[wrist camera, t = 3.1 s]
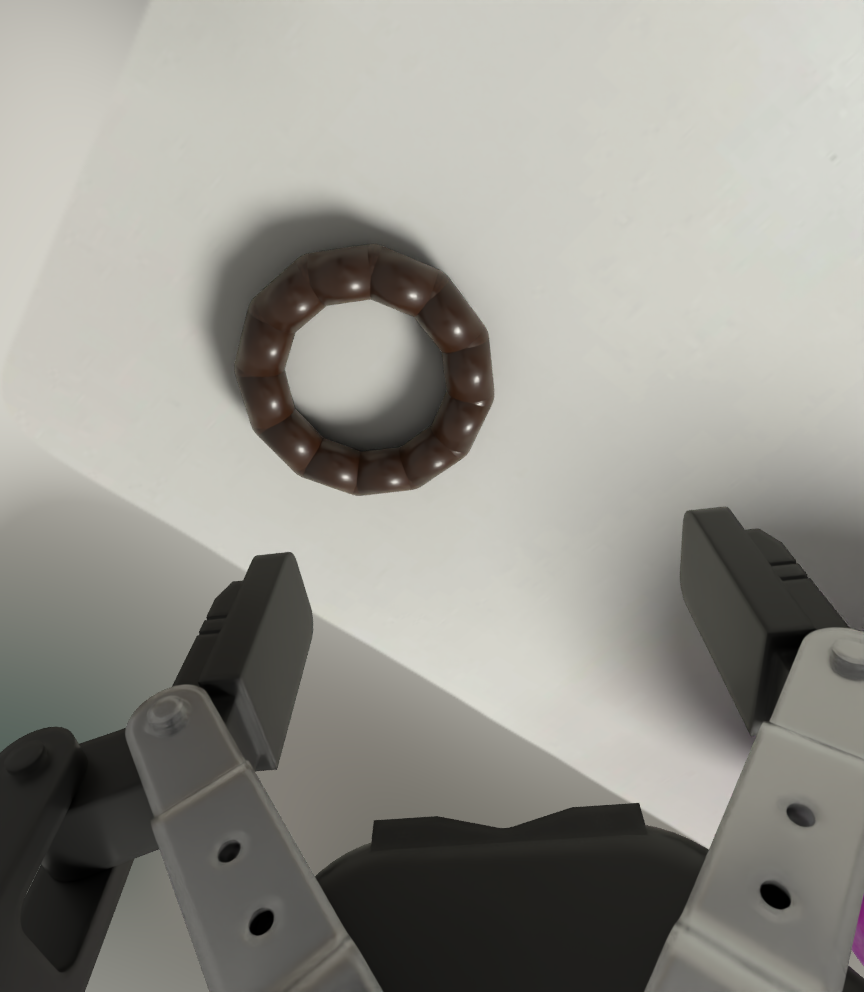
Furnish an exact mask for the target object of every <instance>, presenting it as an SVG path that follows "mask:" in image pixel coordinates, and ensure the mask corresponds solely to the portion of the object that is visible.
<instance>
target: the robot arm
mask: <svg viewBox="0 0 864 992" xmlns="http://www.w3.org/2000/svg"><path fill="white" fill-rule="evenodd" d="M680 583H681V590H682V594H683V598H684V601H685V603H686V606H687V608H688V610H689V612H690V614H691V616H692V618H693V620H694V622H695V624H696V626H697V628H698V630H699V632H700V634H701V636H702V638H703V640H704V642H705V644H706V646H707V648H708V650H709V652H710V654H711V656H712V658H713V660H714V663H715V665H716V667H717V669H718V671H719V673H720V675H721V677H722V679H723V681H724V683H725V685H726V687H727V689H728V691H729V693H730V695H731V697H732V699H733V701H734V703H735V705H736V707H737V709H738V711H739V713H740V715H741V717H742V719H743V721H744V723H745V725H746V727H747V729H748V731H749V734H750V736H756V738H755V741H754V743H753V746H752V748H751V750H750V753H749V755H748V758H747V760H746V762H745V765H744V767H743V770H742V772H741V774H740V777H739V779H738V782H737V784H736V786H735V789H734V791H733V794H732V796H731V798H730V801H729V803H728V806H727V808H726V810H725V813H724V815H723V817H722V820H721V822H720V825H719V827H718V829H717V832H716V834H715V837H714V839H713V841H712V844H711V846H710V849H709V850H708V849H707V848H705V847H703V846H701V845H700V844H698V843H696V842H694V841H692V840H690V839H688V838H686V837H683V836H681V835H679V834H676V833H674V832H670V831H667V830H664V829H661V828H657V827H653V826H648V825H645V823H644V819H643V815H642V812H641V808H640V804H639V803H631V804H616V805H602V806H587V807H572V808H569V809H566V810H563V811H560V812H556V813H553V814H550V815H547V816H544V817H541V818H538V819H535V820H532V821H529V822H526V823H523V824H520V825H517V826H514V827H510V828H496V827H491V826H486V825H480V824H475V823H470V822H464V821H459V820H454V819H449V818H444V817H438V816H435V817H420V818H404V819H390V820H375V821H374V825H373V833H372V843H369V844H366V845H363V846H361V847H359V848H356V849H355V850H353V851H350V852H348V853H346V854H345V855H343V856H341V857H340V858H338V859H337V860H335V861H333V862H332V863H331V864H330V865H328V866H327V867H326V868H325V869H323V870H322V871H321V872H319V873H318V874H317V875H316V876H314V874H313V873H312V871H311V869H310V867H309V866H308V864H307V862H306V860H305V858H304V857H303V855H302V853H301V851H300V850H299V848H298V846H297V844H296V843H295V841H294V839H293V837H292V836H291V834H290V832H289V831H288V829H287V827H286V825H285V823H284V822H283V820H282V818H281V816H280V815H279V813H278V811H277V809H276V808H275V806H274V804H273V802H272V801H271V799H270V797H269V795H268V794H267V792H266V790H265V788H264V787H263V785H262V783H261V781H260V780H259V778H258V776H257V774H256V773H255V772H256V771H264V770H277V768H278V764H279V760H280V756H281V753H282V749H283V745H284V741H285V738H286V734H287V730H288V726H289V723H290V719H291V715H292V711H293V707H294V704H295V700H296V696H297V693H298V689H299V685H300V681H301V678H302V674H303V670H304V666H305V662H306V659H307V655H308V651H309V647H310V644H311V640H312V634H313V616H312V610H311V606H310V603H309V600H308V597H307V593H306V590H305V587H304V584H303V580H302V577H301V574H300V571H299V567H298V564H297V561H296V558H295V556H294V555H293V553H291V552H285V553H276V554H267V555H257V556H255V557H254V558H253V560H252V562H251V564H250V566H249V569H248V571H247V573H246V575H245V578H244V580H243V581H234V582H232V583H231V584H230V585H229V586H228V587H227V588H226V589H225V590H224V591H223V592H222V593H221V594H220V595H219V596H218V597H217V598H216V599H215V600H214V602H213V604H212V607H211V608H210V611H209V612H208V615H207V620H205V621H204V623H203V625H202V627H201V629H200V631H199V635H198V636H197V637H196V639H195V641H194V643H193V645H192V647H191V649H190V651H189V653H188V655H187V657H186V659H185V661H184V663H183V665H182V667H181V669H180V672H179V673H178V675H177V678H176V680H175V682H174V684H173V686H172V687H171V688H167V689H165V690H163V691H161V692H158V693H157V694H155V695H153V696H151V697H150V698H149V699H148V700H146V701H145V702H143V703H142V704H141V705H140V706H139V707H138V708H137V709H136V711H135V712H134V713H133V714H132V716H131V717H130V719H129V721H128V723H127V726H126V728H124V729H121V730H119V731H116V732H113V733H110V734H107V735H104V736H101V737H98V738H95V739H92V740H89V741H86V742H83V743H80V744H79V743H78V742H77V740H76V739H75V737H74V735H73V734H72V733H71V732H70V731H69V730H68V729H65V728H62V727H48V728H43V729H40V730H36V731H34V732H31V733H29V734H27V735H25V736H23V737H21V738H19V739H18V740H16V741H15V742H13V743H12V744H10V745H9V746H8V747H6V748H5V749H4V750H3V751H2V752H1V753H0V992H85V989H86V987H87V984H88V981H89V979H90V976H91V974H92V971H93V968H94V965H95V963H96V960H97V957H98V955H99V952H100V949H101V946H102V944H103V941H104V939H105V936H106V933H107V930H108V928H109V925H110V922H111V920H112V917H113V914H114V912H115V909H116V906H117V903H118V901H119V898H120V896H121V893H122V890H123V887H124V885H125V882H126V879H127V876H128V874H129V871H130V869H131V866H132V863H133V861H134V859H135V858H137V857H140V856H142V855H145V854H147V853H150V852H153V851H156V850H158V849H159V850H160V852H161V855H162V858H163V861H164V864H165V867H166V870H167V872H168V875H169V878H170V881H171V884H172V887H173V889H174V892H175V895H176V898H177V901H178V904H179V907H180V909H181V912H182V915H183V918H184V921H185V924H186V926H187V929H188V932H189V935H190V938H191V941H192V943H193V946H194V949H195V952H196V955H197V958H198V961H199V963H200V966H201V969H202V972H203V975H204V978H205V980H206V983H207V986H208V989H209V992H864V978H863V977H861V976H860V975H859V974H858V973H857V972H855V971H854V970H853V969H852V968H851V967H850V966H848V964H849V959H850V954H851V950H852V945H853V941H854V936H855V932H856V927H857V923H858V918H859V913H860V909H861V904H862V900H863V895H864V632H862V631H858V630H854V629H850V628H849V627H848V625H847V624H846V623H845V622H844V620H843V619H842V618H841V617H840V615H839V614H838V613H837V611H836V610H835V609H834V608H833V606H832V605H831V604H830V603H829V601H828V600H827V599H826V598H825V596H824V595H823V594H822V593H821V591H820V590H819V589H818V588H817V586H816V585H815V584H814V583H813V581H812V580H811V579H810V578H809V579H808V577H807V574H806V572H805V571H804V570H803V569H802V567H801V566H800V565H799V564H796V560H795V559H794V557H793V556H792V555H791V554H790V552H789V551H788V550H787V549H786V547H785V546H784V545H783V544H782V542H780V541H778V540H777V539H775V538H773V537H772V536H770V535H768V534H767V533H765V532H763V531H762V530H760V529H750V530H745V529H744V528H743V527H742V525H741V524H740V523H739V521H738V520H737V518H736V517H735V516H734V514H733V513H732V512H731V510H730V509H729V508H728V507H717V508H708V509H699V510H689V511H686V513H685V515H684V519H683V532H682V548H681V563H680ZM40 865H41V866H40ZM39 867H40V868H39ZM38 869H39V870H38ZM37 871H38V872H37ZM36 873H37V874H36ZM35 875H36V876H35ZM34 877H35V878H34ZM33 879H34V880H33ZM32 881H33V882H32ZM31 883H32V884H31ZM30 885H31V886H30ZM29 887H30V888H29ZM28 889H29V890H28ZM27 891H28V892H27ZM26 893H27V894H26Z"/></svg>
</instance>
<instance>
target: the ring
mask: <svg viewBox="0 0 864 992" xmlns="http://www.w3.org/2000/svg"><path fill="white" fill-rule="evenodd" d="M370 299H371V300H374V301H376V302H379V303H381V304H384V305H386V306H388V307H391V308H393V309H396V310H398V311H401V312H403V313H406V314H408V315H411V316H413V317H414V318H415V319H416V320H417V321H418V323H419V324H420V325H421V326H422V328H423V329H424V330H425V331H426V333H427V334H428V335H429V337H430V338H431V339H432V340H433V342H434V343H435V344H436V345H437V347H438V348H439V349H440V350H441V354H442V361H443V368H444V375H445V383H446V390H447V391H446V393H445V396H444V398H443V400H442V402H441V405H440V407H439V409H438V412H437V414H436V416H435V418H434V421H433V423H432V425H431V426H429V427H428V428H427V429H425V430H424V431H422V432H421V433H420V434H418V435H417V436H415V437H414V438H413V439H411V440H410V441H408V442H407V443H406V444H404V445H403V446H401V447H396V448H387V449H379V450H370V451H362V452H361V451H359V450H356V449H353V448H350V447H348V446H345V445H342V444H339V443H337V442H334V441H331V440H328V439H326V438H323V437H322V436H321V435H320V434H319V433H318V432H317V431H316V430H315V429H314V428H313V427H312V425H311V424H310V423H309V422H308V421H307V420H306V419H305V418H304V417H303V416H302V415H301V414H300V413H299V412H298V411H297V410H296V409H295V407H294V403H293V399H292V396H291V392H290V388H289V385H288V381H287V377H286V373H285V366H286V363H287V359H288V356H289V353H290V349H291V346H292V342H293V339H294V336H295V332H296V331H297V330H299V329H300V328H301V327H302V326H303V325H305V324H306V323H307V322H308V321H309V320H310V319H312V318H313V317H314V316H315V315H316V314H317V313H319V312H320V311H321V310H322V309H323V308H325V307H326V306H327V305H334V304H342V303H349V302H356V301H363V300H370ZM234 370H235V375H236V378H237V381H238V385H239V388H240V391H241V394H242V397H243V401H244V404H245V407H246V410H247V413H248V417H249V420H250V423H251V426H252V428H253V430H254V432H255V433H256V434H257V435H258V436H259V437H260V438H261V439H262V440H263V441H264V442H265V443H266V444H267V445H268V446H269V447H270V448H271V449H272V450H273V451H274V452H275V453H276V454H277V455H278V456H279V457H280V458H281V459H282V460H283V461H284V462H285V463H286V464H287V465H288V466H289V467H290V468H291V469H292V470H293V471H294V472H295V473H296V474H297V475H299V476H301V477H303V478H306V479H309V480H312V481H315V482H318V483H320V484H323V485H326V486H329V487H332V488H335V489H338V490H340V491H343V492H346V493H349V494H352V495H356V496H362V495H371V494H380V493H389V492H398V491H406V490H414V489H417V488H419V487H421V486H423V485H424V484H426V483H427V482H429V481H430V480H431V479H433V478H434V477H436V476H437V475H439V474H440V473H442V472H443V471H445V470H446V469H448V468H449V467H451V466H452V465H454V464H455V463H457V462H458V461H460V460H461V459H462V458H464V457H465V456H466V455H467V454H468V452H469V451H470V449H471V447H472V445H473V443H474V441H475V438H476V436H477V434H478V432H479V430H480V428H481V426H482V424H483V422H484V420H485V418H486V416H487V414H488V411H489V409H490V407H491V405H492V403H493V400H494V383H493V373H492V363H491V353H490V343H489V335H488V332H487V329H486V327H485V326H484V324H483V323H482V321H481V320H480V319H479V317H478V316H477V315H476V313H475V312H474V311H473V309H472V308H471V307H470V305H469V304H468V303H467V301H466V300H465V299H464V297H463V296H462V295H461V293H460V292H459V290H458V289H457V288H456V286H455V285H454V284H453V282H452V281H451V280H450V278H449V277H448V276H447V275H446V274H445V273H444V272H442V271H440V270H438V269H436V268H433V267H431V266H429V265H426V264H424V263H422V262H419V261H417V260H415V259H412V258H410V257H407V256H405V255H403V254H400V253H398V252H396V251H393V250H391V249H389V248H386V247H384V246H381V245H378V244H366V245H359V246H353V247H346V248H339V249H333V250H326V251H319V252H313V253H308V254H304V255H302V256H300V257H299V258H298V259H296V260H295V261H294V262H293V263H292V264H291V265H290V266H289V267H288V268H286V269H285V270H284V271H283V272H282V273H281V274H280V275H279V276H278V277H276V278H275V279H274V280H273V281H272V282H271V283H270V284H269V285H268V286H266V287H265V288H264V289H263V290H262V291H261V292H260V293H259V294H258V295H256V296H255V297H254V298H253V300H252V301H251V303H250V305H249V307H248V311H247V315H246V319H245V323H244V327H243V331H242V335H241V339H240V343H239V347H238V351H237V355H236V359H235V363H234Z"/></svg>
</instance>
